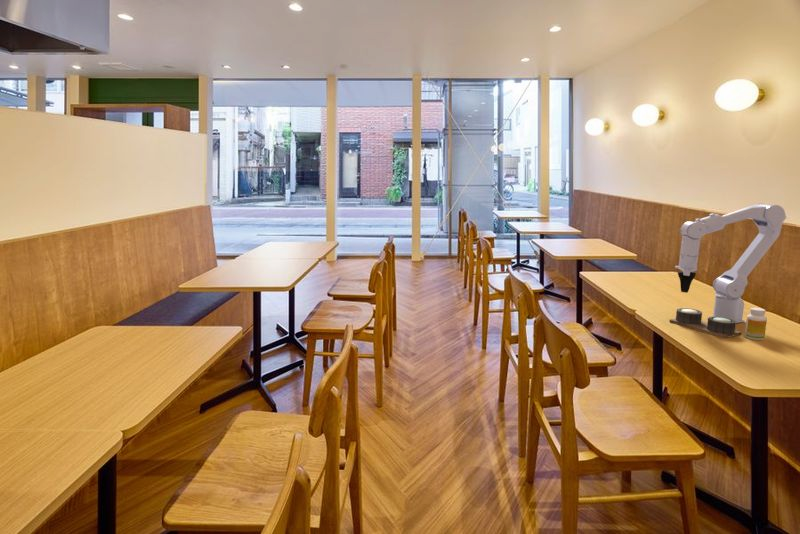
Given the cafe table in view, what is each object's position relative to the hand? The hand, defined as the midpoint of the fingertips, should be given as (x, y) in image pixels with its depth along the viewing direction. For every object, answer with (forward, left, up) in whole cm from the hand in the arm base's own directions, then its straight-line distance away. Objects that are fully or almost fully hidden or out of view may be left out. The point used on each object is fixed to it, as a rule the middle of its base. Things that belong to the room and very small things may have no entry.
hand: (684, 292), depth 185 cm
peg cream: (+2, +4, -9) cm, 10 cm away
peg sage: (+2, +16, -9) cm, 19 cm away
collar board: (+2, +10, -10) cm, 15 cm away
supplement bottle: (-3, +24, -11) cm, 27 cm away
